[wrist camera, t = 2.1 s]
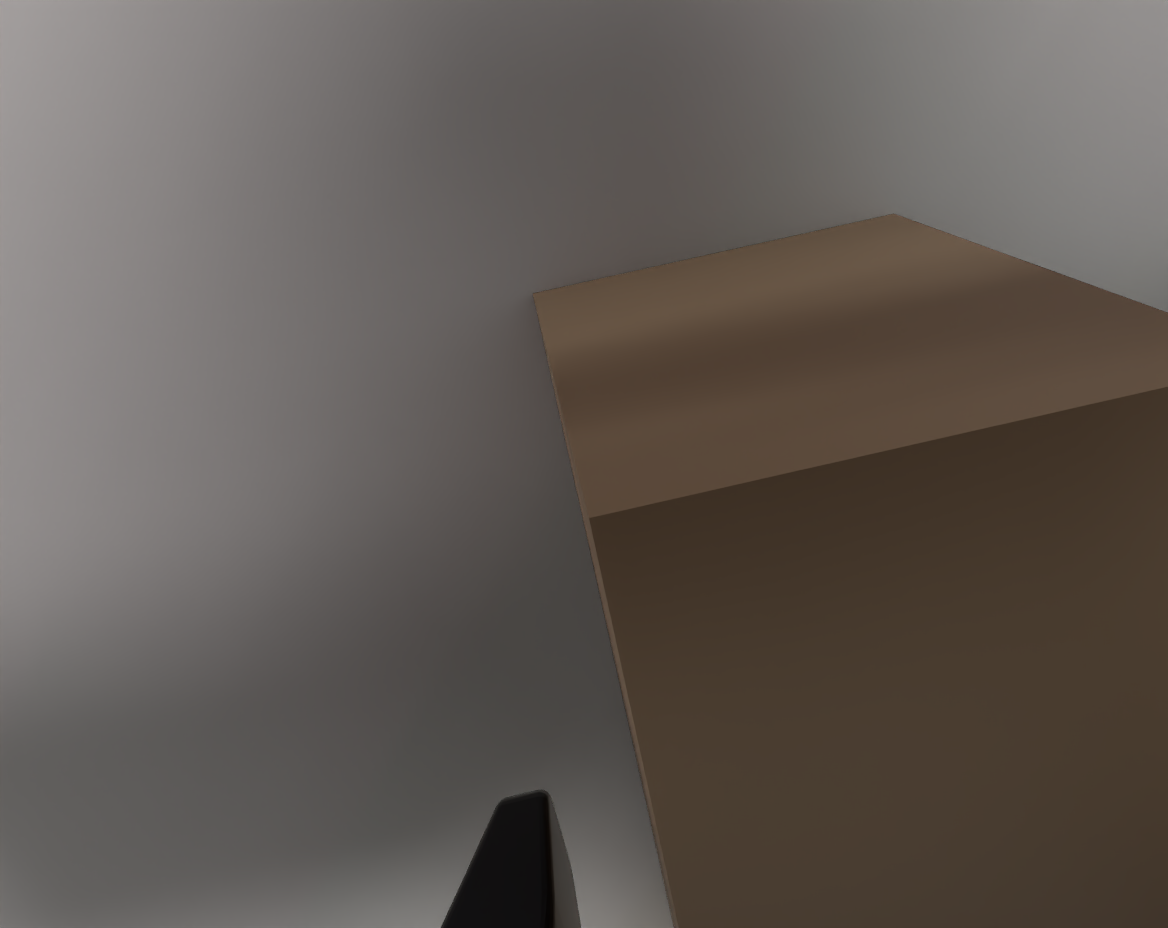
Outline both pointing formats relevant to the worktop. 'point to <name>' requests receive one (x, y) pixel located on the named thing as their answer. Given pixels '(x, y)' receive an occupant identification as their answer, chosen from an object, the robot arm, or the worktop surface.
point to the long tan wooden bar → (881, 577)
